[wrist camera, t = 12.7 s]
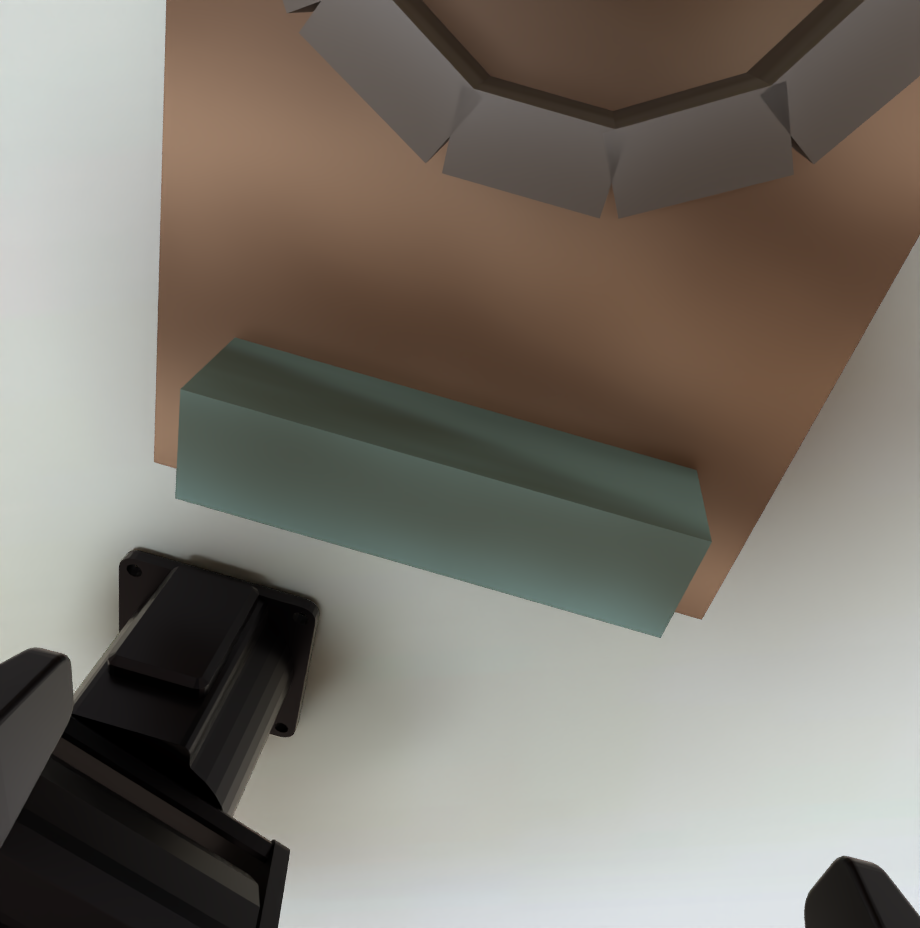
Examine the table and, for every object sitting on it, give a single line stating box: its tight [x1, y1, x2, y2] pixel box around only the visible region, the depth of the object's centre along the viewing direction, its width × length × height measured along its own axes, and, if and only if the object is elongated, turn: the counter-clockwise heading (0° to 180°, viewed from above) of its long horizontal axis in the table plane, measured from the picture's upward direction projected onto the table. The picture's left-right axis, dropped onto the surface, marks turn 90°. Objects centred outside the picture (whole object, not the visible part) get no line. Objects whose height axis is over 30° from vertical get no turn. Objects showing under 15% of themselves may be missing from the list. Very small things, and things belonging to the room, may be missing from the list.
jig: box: [154, 0, 920, 638], centre depth 15 cm, size 23×16×4 cm
